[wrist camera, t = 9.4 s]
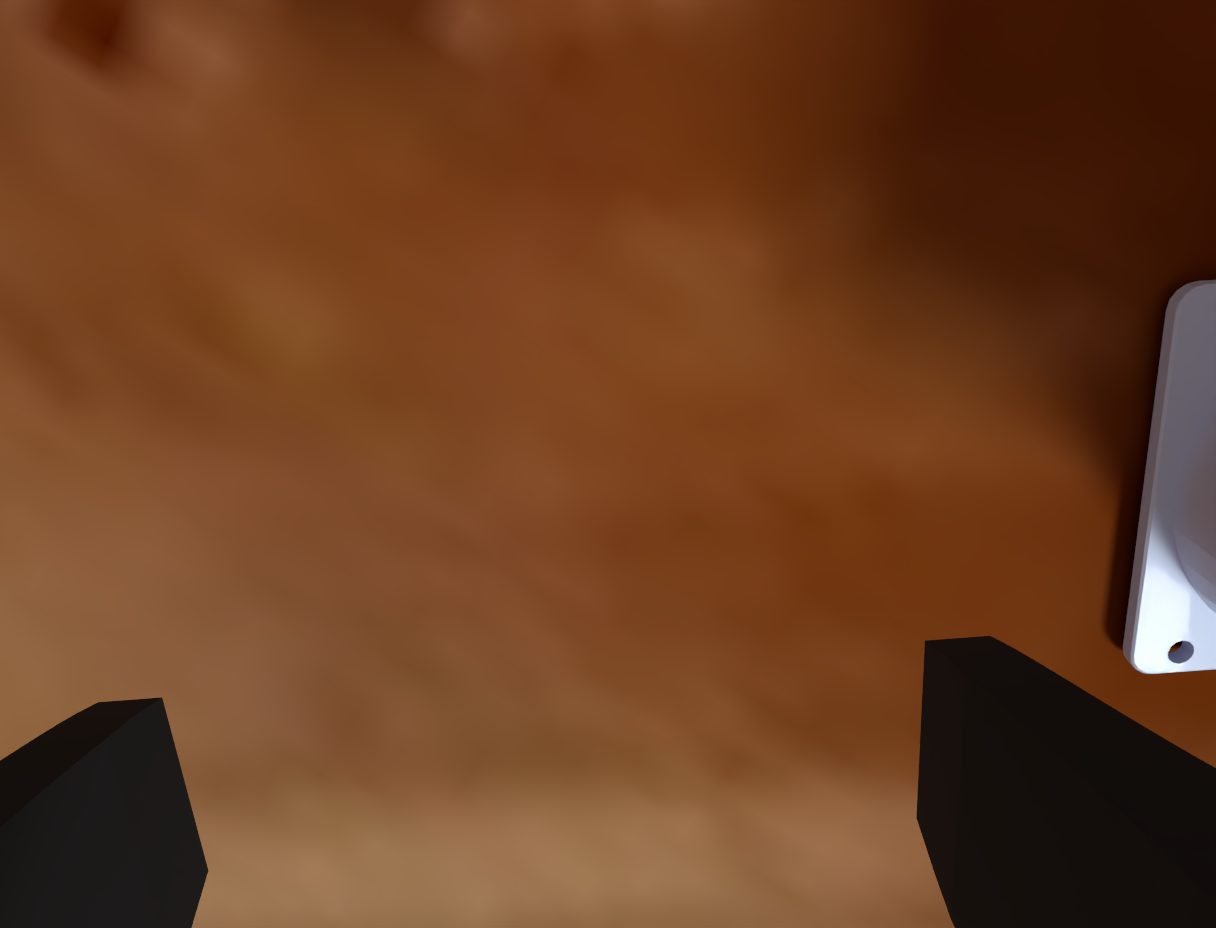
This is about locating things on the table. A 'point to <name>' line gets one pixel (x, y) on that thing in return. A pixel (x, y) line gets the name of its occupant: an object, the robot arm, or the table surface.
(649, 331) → the table surface
